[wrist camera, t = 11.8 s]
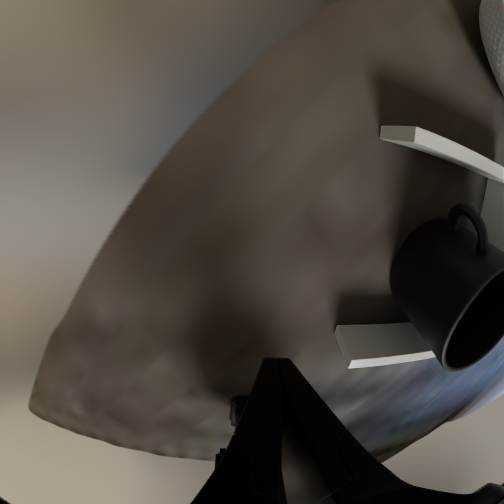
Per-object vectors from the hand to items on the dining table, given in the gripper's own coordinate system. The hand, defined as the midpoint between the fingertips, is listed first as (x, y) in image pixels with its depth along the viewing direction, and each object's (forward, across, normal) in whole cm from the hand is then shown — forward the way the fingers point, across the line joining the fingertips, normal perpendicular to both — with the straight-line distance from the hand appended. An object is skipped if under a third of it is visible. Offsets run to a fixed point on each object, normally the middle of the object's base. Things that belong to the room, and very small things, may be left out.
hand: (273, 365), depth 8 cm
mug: (+12, -16, 0) cm, 20 cm away
